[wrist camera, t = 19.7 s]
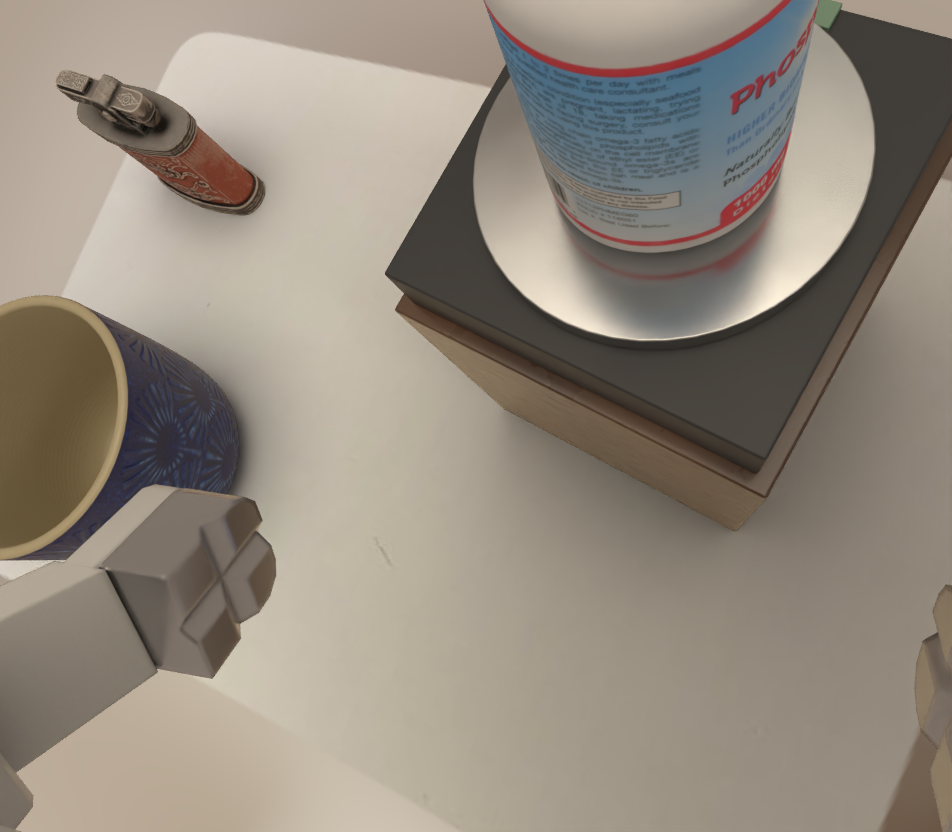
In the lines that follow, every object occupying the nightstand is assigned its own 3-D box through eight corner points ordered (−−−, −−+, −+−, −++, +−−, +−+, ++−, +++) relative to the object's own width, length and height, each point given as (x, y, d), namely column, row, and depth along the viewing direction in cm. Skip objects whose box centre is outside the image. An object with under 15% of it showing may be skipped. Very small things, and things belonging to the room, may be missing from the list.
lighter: (274, 177, 46) (166, 74, 37) (250, 225, 46) (136, 133, 36) (180, 145, 49) (58, 42, 39) (157, 190, 48) (28, 97, 39)
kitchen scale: (957, 107, 21) (1004, 24, 18) (757, 474, 20) (769, 456, 17) (587, -1, 25) (572, -83, 22) (412, 303, 24) (372, 262, 21)
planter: (52, 468, 46) (-131, 436, 36) (181, 320, 46) (34, 245, 35) (160, 611, 42) (-13, 621, 32) (303, 448, 41) (175, 406, 31)
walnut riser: (865, 291, 35) (984, 97, 21) (735, 531, 34) (765, 499, 20) (621, 196, 39) (582, -17, 25) (502, 407, 39) (393, 310, 25)
